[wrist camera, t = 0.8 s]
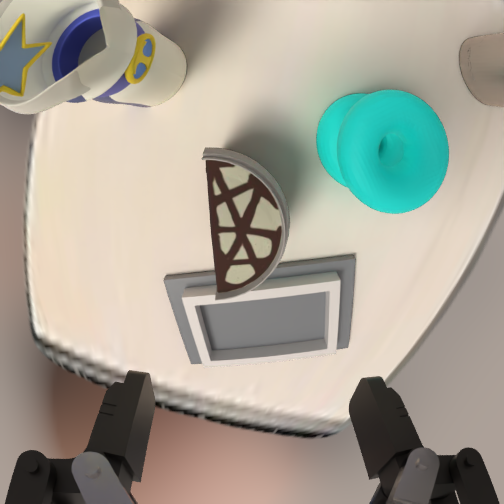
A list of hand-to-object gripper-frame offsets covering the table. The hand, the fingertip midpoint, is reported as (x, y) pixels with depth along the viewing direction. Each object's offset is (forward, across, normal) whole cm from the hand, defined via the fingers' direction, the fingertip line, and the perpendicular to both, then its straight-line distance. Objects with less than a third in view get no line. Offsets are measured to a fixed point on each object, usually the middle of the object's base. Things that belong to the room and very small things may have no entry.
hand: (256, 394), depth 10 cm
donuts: (+23, -11, -9) cm, 27 cm away
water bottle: (+23, +10, -14) cm, 29 cm away
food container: (+23, 0, -1) cm, 23 cm away
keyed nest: (+23, -4, +13) cm, 27 cm away
